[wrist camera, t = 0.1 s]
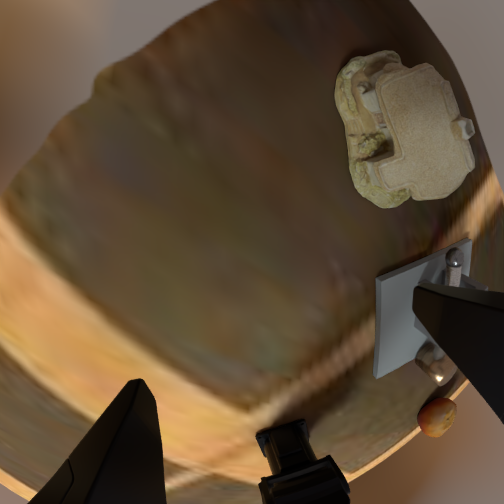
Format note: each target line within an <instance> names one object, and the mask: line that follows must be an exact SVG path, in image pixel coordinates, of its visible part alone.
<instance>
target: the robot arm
mask: <svg viewBox="0 0 504 504" xmlns="http://www.w3.org/2000/svg"><path fill="white" fill-rule="evenodd" d="M412 310H413V313H414V314H415V316H416V317H417V318H418V320H419V321H420V322H421V323H422V325H423V326H424V327H425V329H426V330H427V331H428V333H429V334H430V335H431V337H432V338H433V339H434V341H435V342H436V343H437V344H438V346H439V347H440V348H441V349H442V350H443V351H444V352H445V353H446V355H447V356H448V357H449V358H450V359H451V360H452V361H453V362H454V364H455V365H456V366H457V367H458V368H459V369H460V371H461V372H462V373H463V374H464V375H465V376H466V378H467V379H468V380H469V381H470V382H471V383H472V385H473V386H474V387H475V388H476V390H477V391H478V392H479V393H480V395H481V396H482V397H483V398H484V399H485V401H486V402H487V403H488V405H489V406H490V407H491V408H492V410H493V411H494V412H495V414H496V415H497V416H498V417H499V419H500V420H501V421H502V423H503V424H504V293H503V292H495V291H487V290H479V289H471V288H463V287H455V286H447V285H440V284H432V283H421V284H419V285H417V286H415V287H414V290H413V301H412ZM255 437H256V440H257V442H258V444H259V446H260V448H261V451H262V453H263V455H264V457H267V460H268V463H269V466H270V469H271V472H272V474H273V475H271V476H268V477H262V478H261V482H260V483H259V484H258V485H259V489H260V492H261V496H262V502H263V504H350V499H349V496H348V494H350V488H349V485H348V483H347V480H346V478H345V477H344V475H343V473H342V472H341V470H340V469H339V467H338V466H337V464H336V463H335V461H334V460H333V458H332V457H331V455H327V456H326V457H324V458H322V459H319V460H317V458H316V456H315V454H314V452H313V450H312V448H311V445H310V443H309V438H308V432H307V426H306V422H305V420H304V419H301V420H298V421H296V422H293V423H290V424H287V425H284V426H281V427H278V428H275V429H272V430H268V431H265V432H262V433H258V434H256V436H255ZM27 504H167V503H166V492H165V481H164V466H163V449H162V440H161V433H160V427H159V420H158V413H157V405H156V400H155V398H154V396H153V394H152V393H151V391H150V389H149V388H148V386H147V385H146V383H145V381H144V380H143V379H141V378H139V379H134V380H130V381H128V382H127V384H126V385H125V386H124V387H123V389H122V390H121V391H120V392H119V394H118V395H117V396H116V397H115V398H114V400H113V401H112V402H111V403H110V405H109V406H108V407H107V408H106V410H105V411H104V412H103V414H102V415H101V416H100V417H99V419H98V420H97V421H96V422H95V424H94V425H93V426H92V427H91V429H90V430H89V431H88V432H87V434H86V435H85V436H84V438H83V439H82V440H81V441H80V443H79V444H78V445H77V446H76V448H75V449H74V450H73V452H72V453H71V454H70V455H69V459H68V458H67V459H66V460H65V462H64V463H63V464H62V466H61V467H60V468H59V469H58V471H57V472H56V473H55V474H54V475H53V477H52V478H51V479H50V480H49V481H48V482H47V483H46V484H45V486H44V487H43V488H42V489H41V490H40V491H39V492H38V493H37V494H36V495H35V496H34V497H33V498H32V499H31V500H30V501H29V503H27Z"/></svg>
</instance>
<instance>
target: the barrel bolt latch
mask: <svg viewBox="0 0 504 504" xmlns="http://www.w3.org/2000/svg"><path fill="white" fill-rule="evenodd" d="M453 247H457V248H459V249H460V250H461V251H462V252H463V254H464V262H463V264H462V269H461V278H460V286H459V287H463V288H471V289H479V290H487V291H488V287H487V286H485V285H483V284H482V283H480V282H478V281H476V280H474V279H472V278H470V277H469V270H470V260H471V249H472V240H471V239H468V238H465V239H463V240H461V241H459V242H457V243H455V244H453V245H451V246H449V247H446V248H444V249H442V250H440V251H438V252H435V253H433V254H431V255H429V256H427V257H424V258H422V259H420V260H417V261H415V262H413V263H410V264H408V265H406V266H403V267H401V268H399V269H396V270H394V271H391V272H389V273H386V274H384V275H381V276H379V277H376V329H375V351H374V366H373V375H374V376H375V378H376V379H378V378H380V377H382V376H384V375H386V374H387V373H389V372H391V371H393V370H395V369H397V368H398V367H400V366H402V365H404V364H405V363H407V362H409V361H411V360H412V359H414V358H416V356H417V354H418V353H419V351H420V350H421V349H422V348H423V347H424V346H425V345H426V344H428V343H433V344H436V345H438V344H437V343H436V342H435V341H434V339H433V338H432V337H431V335H430V334H429V333H428V331H427V330H426V329H425V327H424V326H423V325H422V323H421V322H420V321H419V320H418V318H417V317H416V316H415V314H414V313H413V310H412V301H413V290H414V287H415V286H417V285H419V284H421V283H432V284H440V285H445V276H446V261H445V255H446V253H447V251H448V250H449V249H450V248H453Z"/></svg>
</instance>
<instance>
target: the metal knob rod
mask: <svg viewBox="0 0 504 504" xmlns="http://www.w3.org/2000/svg"><path fill="white" fill-rule="evenodd" d="M445 261H446V276H445V285H447V286H455V287H459V286H460V278H461V269H462V264H463V262H464V254H463V252H462V251H461V250H460V249H459V248H457V247H453V248H450V249H449V250H448V251H447V253H446V255H445ZM415 363H416V364H417V365H418V366H419V367H420V368H421V369H422V370H423V371H424V372H425V373H426V374H427V375H428V376H429V377H430V378H431V379H432V380H433V381H435V382H436V383H437V384H438V385H439V386H443V385H444V384H446V383H447V382H448V381H449V380H450V379H451V378H452V377H453V375H454V374H455V372H456V370H457V366H456V365H455V364H454V362H453V361H452V360H451V359H450V358H449V357H448V356H447V355H446V353H445V352H444V351H443V350H442V349H441V348H440V347H439V346H438V345H436V344H433V343H428V344H426V345H425V346H424V347H423V348H422V349H421V350H420V351H419V353H418V354H417V356H416V359H415Z"/></svg>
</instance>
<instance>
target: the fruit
mask: <svg viewBox="0 0 504 504" xmlns="http://www.w3.org/2000/svg"><path fill="white" fill-rule="evenodd" d="M455 416H456V404H455V403H454V402H453V401H452V400H450V399H448V398H441V397H440V398H436V399H434V400H433V401H431V402H430V403H429V404H427V405H426V406H425V407H423V408H422V409H421V410H420V412H419V414H418V417H417V421H418V424H419V426H420V428H421V430H422V431H423V432H424V433H425V434H426V435H428V436H431V437H439V436H441V435H442V434H444V433H445V431H446V430H448V429H449V427H450V426H451V425H452V423H453V421H454V418H455Z"/></svg>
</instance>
